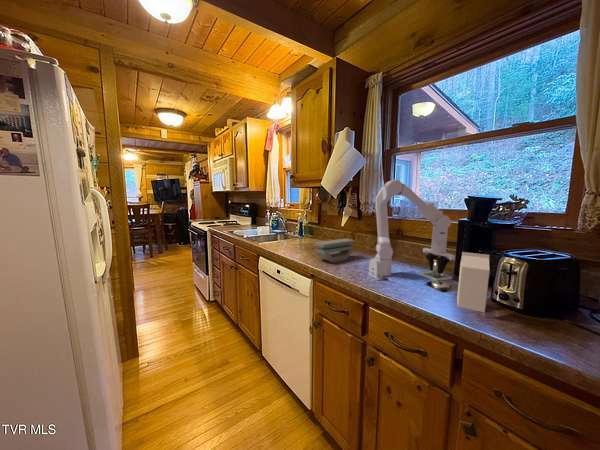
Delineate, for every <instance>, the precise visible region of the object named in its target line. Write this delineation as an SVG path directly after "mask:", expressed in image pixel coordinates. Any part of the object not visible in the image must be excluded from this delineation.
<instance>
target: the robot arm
mask: <svg viewBox="0 0 600 450" xmlns="http://www.w3.org/2000/svg"><path fill="white" fill-rule="evenodd" d="M395 196H401V197H405V198H406V199H407V200H408V201H410V202H411V203H413V205H415V206H416V207H418V212H419V213H420V214H421V215H422V216H423V217H424V218H426V219H427V220H428V221H429V222H430V223H431V225H432V233H431V243H430V245H431V246H430V247H431V248H428V247H423V248H422V252H423V253H424V254H426V255H425V257H426V259H427V261H428V264H429V269H430V272H433V259H437V262H438V273H439V274H440V273H443V274H444V270H445V269H446V266H447V265H448V263H449V262H450V261H455V260H456V259H455V258H456V255H455V254H452V253H449V252H447V245H448V235H449V234H448V231H449V228H450V226H451V225H452V221H451V219H450V217H449V216H448V215H446V214H443V213H444V212H443V211H442V210H439V209H438V207H436V206H435V203H434V202H430V201H427V202H425V201H424V200H423V199H422V198H421V197H419V195H417V194H416V193H415V192H414V191H413V190H412V189H411V188H409V187H408V185H406V184H405V183H403V182H402V181H401V180H399V179H391V180H389V181H388V180H387V181H386V182H385V183H384V184H383V185H382V186H381V188H380V190H379V191H378V193H377V194H376V197H375V214H376V228H377V240H376V241H377V243H376V245H375V251H376V254H375V255H374V256H375V257H374V258H371V259H370V260H369V263H368V273H367V275H368V276H369V277H372V278H374V279H375V280H378V281H381V280H388V277H389V276H391V275H392V263H393V257H392V256H393V255H394V249H393V248H392V245H391V240H390V235H389V233H390V232H389V216H388V202H389V201H390V200H391V199H392V198H393V197H395Z"/></svg>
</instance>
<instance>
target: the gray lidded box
mask: <svg viewBox="0 0 600 450" xmlns="http://www.w3.org/2000/svg"><path fill="white" fill-rule="evenodd" d="M355 243H356V240H355V239H351V238H338V239H331V240H330V239H329V240H322V241H321V240H320V241H315V242H314V243H313V244H314V246H316V247H315V253H316V254H317V255H318V256H319V257H320V258H321V259H322V260H323V261H326V262H329V263H337V262H342V261H347V260H348V259H349V257H350V255H351V254H352V253H353V251H354V249H355V246H354V245H351V244H355Z"/></svg>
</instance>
